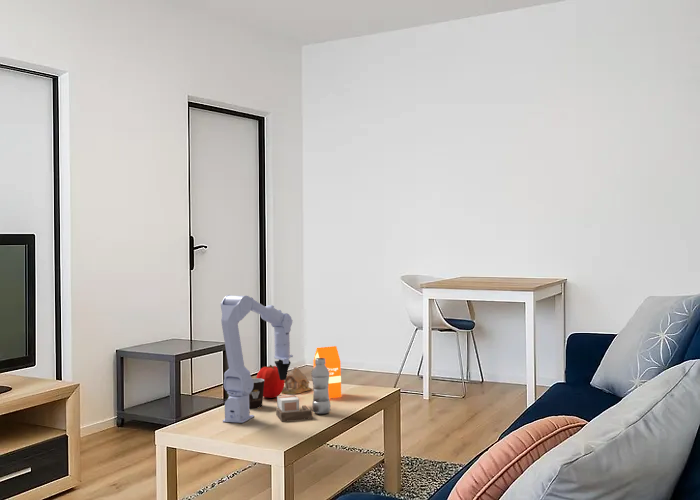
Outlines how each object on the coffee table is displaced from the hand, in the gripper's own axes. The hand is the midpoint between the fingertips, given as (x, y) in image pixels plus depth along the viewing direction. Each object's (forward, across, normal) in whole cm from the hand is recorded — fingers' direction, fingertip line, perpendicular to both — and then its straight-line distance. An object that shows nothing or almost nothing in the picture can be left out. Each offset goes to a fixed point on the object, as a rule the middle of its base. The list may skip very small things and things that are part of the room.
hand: (282, 379), depth 276 cm
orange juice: (+10, +9, -20) cm, 24 cm away
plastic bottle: (+10, -18, -10) cm, 23 cm away
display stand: (+10, -18, 0) cm, 21 cm away
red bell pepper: (+10, +15, +2) cm, 18 cm away
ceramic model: (+10, +24, -10) cm, 28 cm away
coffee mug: (+10, +3, +13) cm, 16 cm away
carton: (+10, -9, 0) cm, 13 cm away
